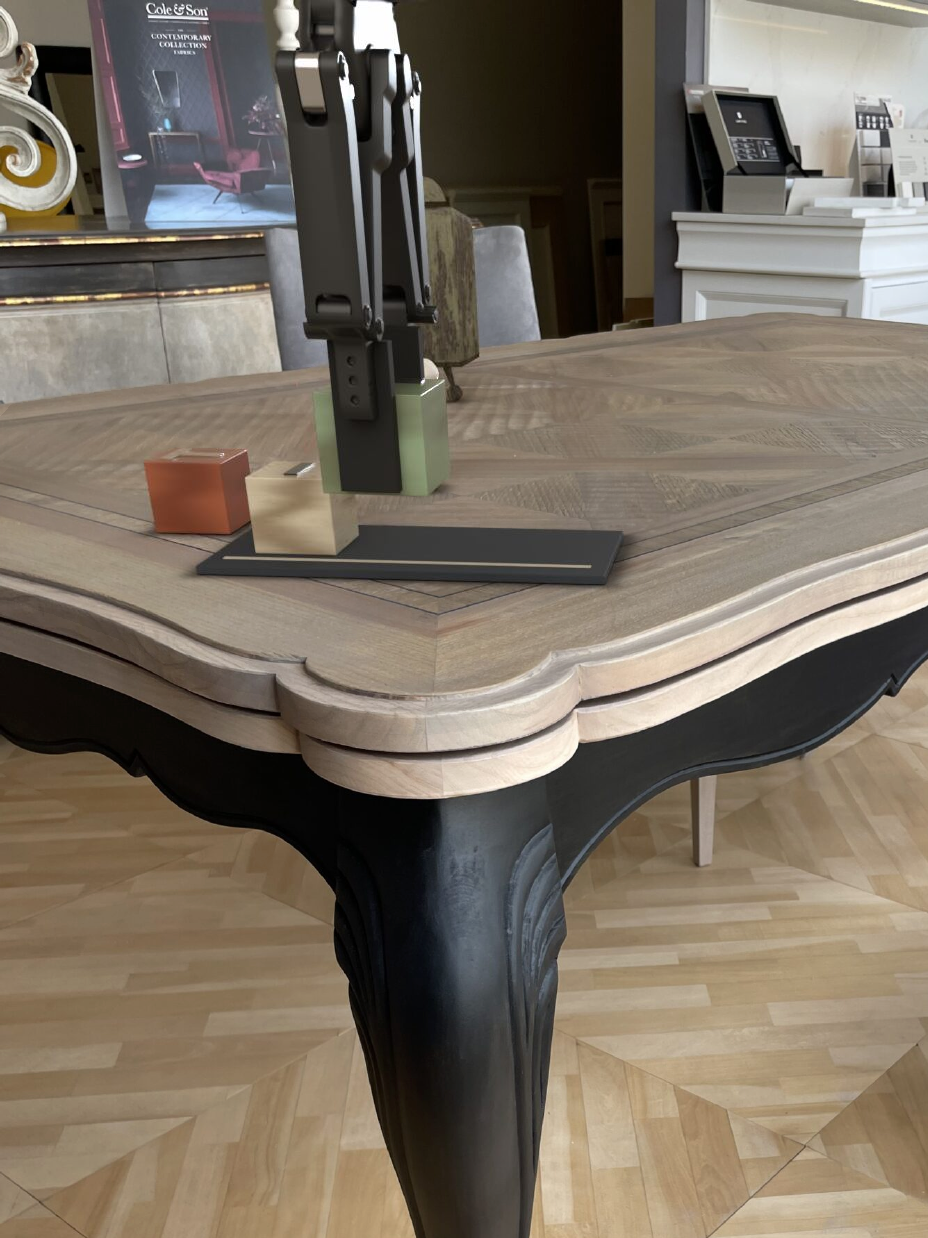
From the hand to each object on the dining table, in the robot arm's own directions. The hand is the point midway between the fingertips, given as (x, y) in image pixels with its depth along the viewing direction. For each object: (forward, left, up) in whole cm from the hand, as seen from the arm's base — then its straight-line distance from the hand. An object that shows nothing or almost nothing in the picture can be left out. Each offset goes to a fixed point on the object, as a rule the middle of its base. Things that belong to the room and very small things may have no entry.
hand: (387, 477), depth 63 cm
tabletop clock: (-16, +77, -8) cm, 79 cm away
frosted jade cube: (0, 0, 0) cm, 0 cm away
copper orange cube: (-19, +22, -8) cm, 30 cm away
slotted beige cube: (-10, +15, -7) cm, 20 cm away
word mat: (-3, +15, -8) cm, 17 cm away
